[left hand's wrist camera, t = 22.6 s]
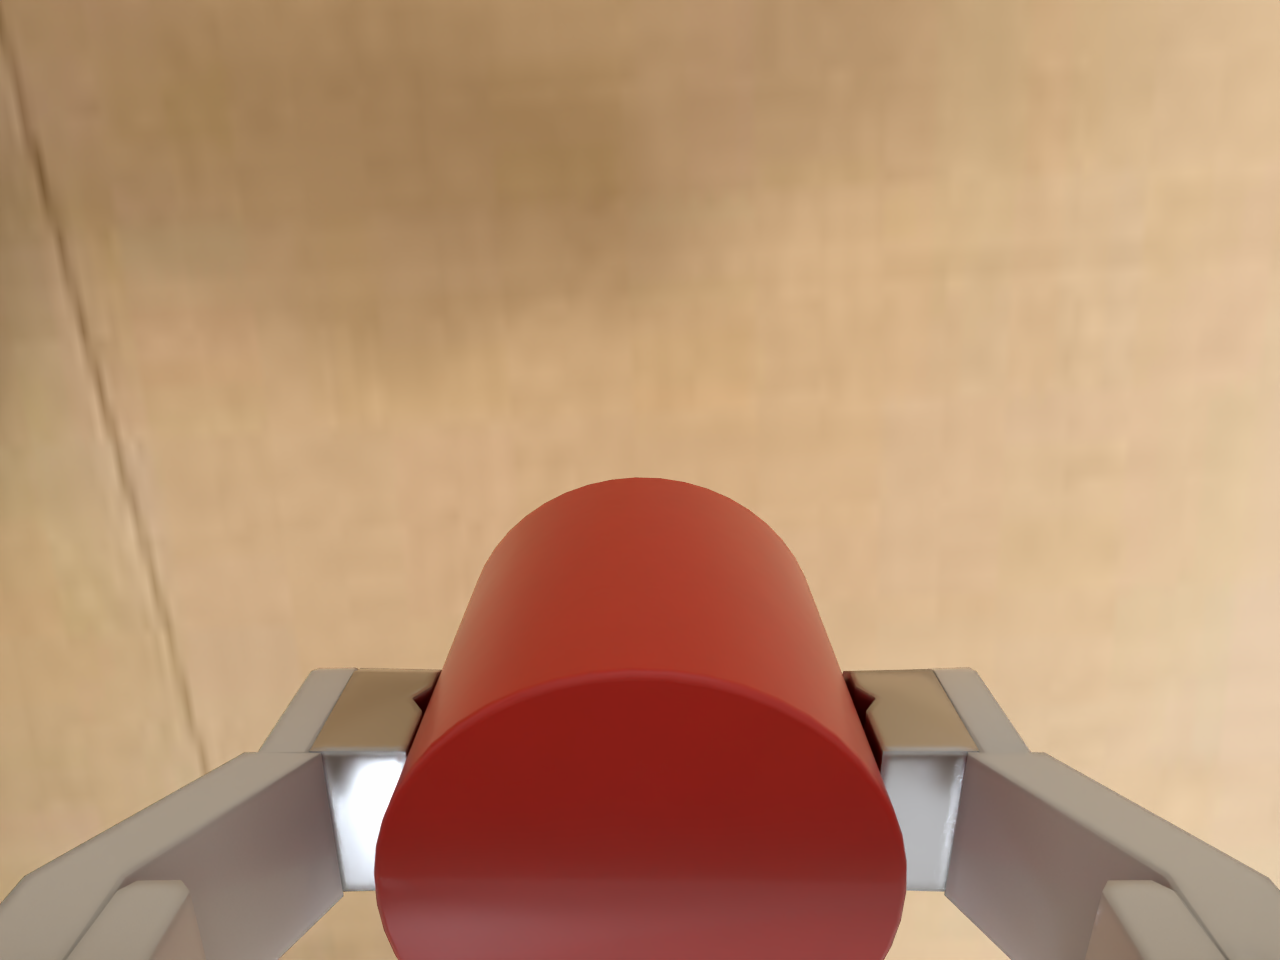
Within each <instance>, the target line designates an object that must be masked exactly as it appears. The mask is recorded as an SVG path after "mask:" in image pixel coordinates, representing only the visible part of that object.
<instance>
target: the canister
mask: <svg viewBox="0 0 1280 960" xmlns="http://www.w3.org/2000/svg"><path fill="white" fill-rule="evenodd" d="M374 880H375V890H376V900H377V906H378V909H379V913H380V917H381V920H382V924H383V928H384V931H385V933H386V936H387V938H388V940H389V942H390V944H391V947H392V949H393V951H394V953H395V955H396V957H397V958H398V960H884V959H885V957H886V955H887V953H888V951H889V949H890V948H891V946H892V943H893V940H894V938H895V935H896V932H897V929H898V927H899V924H900V921H901V916H902V911H903V906H904V900H905V895H906V887H907V860H906V853H905V847H904V841H903V835H902V832H901V829H900V826H899V823H898V820H897V817H896V814H895V811H894V808H893V805H892V803H891V800H890V798H889V795H888V792H887V790H886V787H885V785H884V782H883V779H882V777H881V774H880V771H879V769H878V766H877V764H876V761H875V758H874V756H873V753H872V751H871V748H870V745H869V743H868V740H867V738H866V735H865V732H864V730H863V727H862V725H861V722H860V719H859V717H858V714H857V711H856V709H855V706H854V704H853V701H852V698H851V696H850V693H849V691H848V688H847V685H846V683H845V680H844V678H843V675H842V672H841V670H840V667H839V665H838V662H837V659H836V657H835V654H834V652H833V649H832V646H831V644H830V641H829V638H828V636H827V633H826V631H825V628H824V625H823V623H822V620H821V618H820V615H819V612H818V610H817V607H816V605H815V602H814V599H813V597H812V594H811V592H810V589H809V586H808V584H807V581H806V578H805V576H804V574H803V572H802V570H801V568H800V566H799V564H798V562H797V561H796V559H795V557H794V556H793V554H792V553H791V551H790V550H789V549H788V547H787V546H786V544H785V543H784V542H783V540H782V539H781V538H780V537H779V536H778V535H777V534H776V533H775V532H774V531H773V530H772V529H771V528H770V527H769V526H768V525H767V524H766V523H765V522H764V521H763V520H761V519H760V518H759V517H757V516H756V515H755V514H754V513H752V512H751V511H750V510H748V509H747V508H745V507H743V506H742V505H740V504H738V503H737V502H735V501H733V500H732V499H730V498H728V497H725V496H723V495H721V494H718V493H716V492H714V491H711V490H709V489H707V488H703V487H700V486H696V485H693V484H689V483H686V482H680V481H674V480H668V479H661V478H626V479H615V480H608V481H604V482H599V483H595V484H590V485H586V486H584V487H581V488H578V489H575V490H572V491H569V492H567V493H564V494H562V495H560V496H558V497H556V498H554V499H552V500H550V501H548V502H546V503H545V504H543V505H542V506H540V507H539V508H537V509H536V510H534V511H533V512H531V513H530V514H528V515H527V516H526V517H525V518H523V519H522V520H521V521H520V522H519V523H518V524H517V525H516V526H515V527H513V528H512V529H511V530H510V531H509V532H508V533H507V535H506V536H505V537H504V538H503V539H502V541H501V542H500V543H499V544H498V545H497V547H496V548H495V549H494V551H493V553H492V554H491V556H490V557H489V559H488V561H487V562H486V564H485V565H484V568H483V570H482V572H481V575H480V577H479V579H478V582H477V584H476V586H475V589H474V591H473V594H472V596H471V599H470V601H469V604H468V606H467V609H466V611H465V614H464V616H463V619H462V621H461V624H460V626H459V629H458V631H457V634H456V636H455V639H454V641H453V644H452V646H451V649H450V651H449V654H448V656H447V659H446V661H445V664H444V666H443V669H442V671H441V674H440V676H439V679H438V681H437V684H436V686H435V689H434V691H433V694H432V696H431V699H430V701H429V704H428V706H427V709H426V711H425V714H424V716H423V719H422V721H421V724H420V726H419V729H418V731H417V734H416V736H415V739H414V741H413V744H412V746H411V749H410V751H409V754H408V756H407V759H406V761H405V764H404V766H403V769H402V771H401V774H400V776H399V779H398V781H397V784H396V786H395V789H394V791H393V794H392V796H391V799H390V801H389V804H388V806H387V809H386V811H385V814H384V816H383V819H382V823H381V827H380V831H379V835H378V839H377V843H376V849H375V863H374Z"/></svg>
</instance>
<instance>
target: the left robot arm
mask: <svg viewBox="0 0 1280 960" xmlns="http://www.w3.org/2000/svg"><path fill="white" fill-rule="evenodd" d="M441 671H442V670H425V669H376V668H360V669H357V668H318V669H316V670H313V671H311V672H310V673H309V674H308V676H307V678H306V679H305V681H304V682H303V684H302V685H301V687H300V688H299V690H298V691H297V693H296V694H295V696H294V697H293V699H292V700H291V702H290V703H289V705H288V707H287V708H286V710H285V711H284V713H283V714H282V716H281V717H280V719H279V720H278V722H277V723H276V725H275V726H274V728H273V729H272V731H271V732H270V734H269V736H268V737H267V739H266V740H265V742H264V743H263V745H262V746H261V748H260V749H259V751H258V752H257V753H243V754H241V755H239V756H237V757H236V758H234V759H232V760H230V761H228V762H227V763H225V764H223V765H221V766H220V767H218V768H216V769H214V770H212V771H211V772H209V773H207V774H205V775H203V776H202V777H200V778H198V779H196V780H195V781H193V782H191V783H189V784H187V785H186V786H184V787H182V788H180V789H179V790H177V791H175V792H173V793H171V794H170V795H168V796H166V797H164V798H163V799H161V800H159V801H157V802H155V803H154V804H152V805H150V806H148V807H147V808H145V809H143V810H141V811H139V812H138V813H136V814H134V815H132V816H131V817H129V818H127V819H125V820H123V821H122V822H120V823H118V824H116V825H115V826H113V827H111V828H109V829H107V830H106V831H104V832H102V833H100V834H99V835H97V836H95V837H93V838H91V839H90V840H88V841H86V842H84V843H83V844H81V845H79V846H77V847H75V848H74V849H72V850H70V851H68V852H67V853H65V854H63V855H61V856H59V857H58V858H56V859H54V860H52V861H51V862H49V863H47V864H45V865H43V866H42V867H40V868H38V869H36V870H35V871H33V872H31V873H29V874H27V875H26V876H24V877H23V878H22V879H21V880H20V882H19V883H18V884H17V885H16V886H15V887H14V889H13V890H12V891H11V892H10V893H9V894H8V895H7V897H6V898H5V899H4V900H3V901H2V902H1V904H0V960H278V959H279V958H280V957H281V956H282V955H283V954H284V953H285V952H286V951H287V950H288V949H289V948H290V947H291V946H292V945H293V944H295V943H296V942H297V941H298V940H299V939H300V938H301V937H302V936H303V935H304V934H305V933H306V932H307V931H308V930H309V929H310V928H311V927H312V926H313V925H314V924H315V923H316V922H317V921H318V920H319V919H320V918H321V917H322V916H323V915H324V914H325V913H326V912H327V911H328V910H329V909H331V908H332V907H333V906H334V905H335V904H336V903H337V902H338V901H339V900H340V899H341V898H342V897H343V891H376V890H375V880H374V863H375V849H376V843H377V839H378V835H379V831H380V827H381V823H382V819H383V816H384V814H385V811H386V809H387V806H388V804H389V801H390V799H391V796H392V794H393V791H394V789H395V786H396V784H397V781H398V779H399V776H400V774H401V771H402V769H403V766H404V764H405V761H406V759H407V756H408V754H409V751H410V749H411V746H412V744H413V741H414V739H415V736H416V734H417V731H418V729H419V726H420V724H421V721H422V719H423V716H424V714H425V711H426V709H427V706H428V704H429V701H430V699H431V696H432V694H433V691H434V689H435V686H436V684H437V681H438V679H439V676H440V674H441ZM842 675H843V678H844V680H845V683H846V685H847V688H848V691H849V693H850V696H851V698H852V701H853V704H854V706H855V709H856V711H857V714H858V717H859V719H860V722H861V725H862V727H863V730H864V732H865V735H866V738H867V740H868V743H869V745H870V748H871V751H872V753H873V756H874V758H875V761H876V764H877V766H878V769H879V771H880V774H881V777H882V779H883V782H884V785H885V787H886V790H887V792H888V795H889V798H890V800H891V803H892V805H893V808H894V811H895V814H896V817H897V820H898V823H899V826H900V829H901V832H902V835H903V841H904V847H905V853H906V860H907V887H906V890H910V891H945V894H944V895H945V896H946V897H947V898H948V899H949V900H950V901H951V902H952V903H953V904H954V905H955V906H956V907H957V908H958V909H959V910H960V911H961V912H962V913H963V914H964V915H966V916H967V917H968V918H969V919H970V920H971V921H972V922H973V923H974V924H975V925H976V926H977V927H978V928H979V929H980V930H981V931H982V932H983V933H984V934H985V935H986V936H987V937H988V938H989V939H990V940H991V941H992V942H993V943H995V944H996V945H997V946H998V947H999V948H1000V949H1001V950H1002V951H1003V952H1004V953H1005V954H1006V955H1007V956H1008V957H1009V958H1010V959H1011V960H1280V890H1279V889H1278V888H1277V887H1276V886H1275V884H1274V883H1273V882H1272V881H1271V880H1270V879H1269V878H1268V877H1266V876H1265V875H1263V874H1261V873H1259V872H1257V871H1256V870H1254V869H1252V868H1250V867H1248V866H1247V865H1245V864H1243V863H1241V862H1239V861H1238V860H1236V859H1234V858H1232V857H1231V856H1229V855H1227V854H1225V853H1223V852H1222V851H1220V850H1218V849H1216V848H1214V847H1213V846H1211V845H1209V844H1207V843H1205V842H1204V841H1202V840H1200V839H1198V838H1197V837H1195V836H1193V835H1191V834H1189V833H1188V832H1186V831H1184V830H1182V829H1180V828H1179V827H1177V826H1175V825H1173V824H1171V823H1170V822H1168V821H1166V820H1164V819H1163V818H1161V817H1159V816H1157V815H1155V814H1154V813H1152V812H1150V811H1148V810H1146V809H1145V808H1143V807H1141V806H1139V805H1137V804H1136V803H1134V802H1132V801H1130V800H1129V799H1127V798H1125V797H1123V796H1121V795H1120V794H1118V793H1116V792H1114V791H1112V790H1111V789H1109V788H1107V787H1105V786H1103V785H1102V784H1100V783H1098V782H1096V781H1095V780H1093V779H1091V778H1089V777H1087V776H1086V775H1084V774H1082V773H1080V772H1078V771H1077V770H1075V769H1073V768H1071V767H1069V766H1068V765H1066V764H1064V763H1062V762H1061V761H1059V760H1057V759H1055V758H1053V757H1052V756H1050V755H1048V754H1046V753H1032V752H1031V751H1030V750H1029V748H1028V747H1027V745H1026V744H1025V742H1024V741H1023V739H1022V738H1021V737H1020V735H1019V734H1018V732H1017V731H1016V729H1015V728H1014V726H1013V725H1012V723H1011V722H1010V720H1009V719H1008V717H1007V716H1006V714H1005V713H1004V711H1003V710H1002V708H1001V707H1000V706H999V704H998V703H997V701H996V700H995V698H994V697H993V695H992V694H991V692H990V691H989V689H988V688H987V686H986V685H985V683H984V682H983V680H982V679H981V678H980V676H979V675H978V673H977V672H976V671H975V670H973V669H971V668H969V667H964V668H937V669H917V670H874V671H843V674H842Z"/></svg>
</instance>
